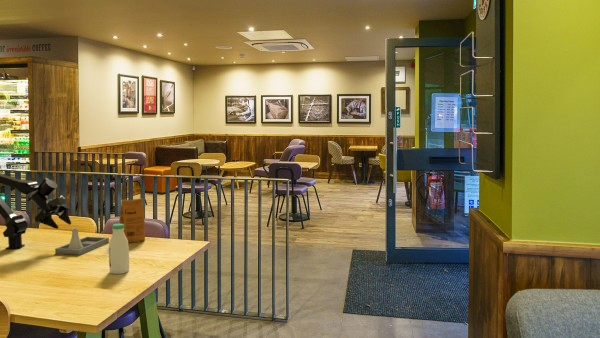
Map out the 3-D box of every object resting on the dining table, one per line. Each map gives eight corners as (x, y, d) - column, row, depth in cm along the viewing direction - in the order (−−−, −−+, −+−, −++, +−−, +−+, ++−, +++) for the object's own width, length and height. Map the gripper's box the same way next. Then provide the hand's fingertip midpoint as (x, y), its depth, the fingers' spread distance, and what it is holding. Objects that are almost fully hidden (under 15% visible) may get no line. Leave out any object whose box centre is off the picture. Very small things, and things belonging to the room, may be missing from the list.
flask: (81, 251, 227) (81, 230, 226) (65, 251, 226) (64, 231, 225) (85, 247, 234) (84, 227, 233) (69, 247, 233) (69, 227, 232)
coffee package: (118, 240, 251) (116, 198, 249) (142, 237, 258) (141, 196, 255) (121, 244, 243) (120, 201, 241) (146, 241, 249) (145, 199, 247)
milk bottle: (133, 269, 202) (131, 223, 200) (120, 275, 195) (119, 227, 193) (118, 267, 205) (116, 221, 203) (105, 273, 198) (103, 225, 195)
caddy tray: (55, 253, 225) (55, 248, 225) (87, 241, 248) (86, 236, 248) (79, 255, 223) (79, 250, 222) (109, 242, 246) (108, 237, 246)
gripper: (39, 194, 220) (61, 219, 219) (66, 188, 238) (86, 211, 237) (24, 210, 222) (46, 234, 221) (52, 203, 240) (73, 226, 239)
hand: (64, 226), depth 230 cm, fingers open, 9 cm apart
